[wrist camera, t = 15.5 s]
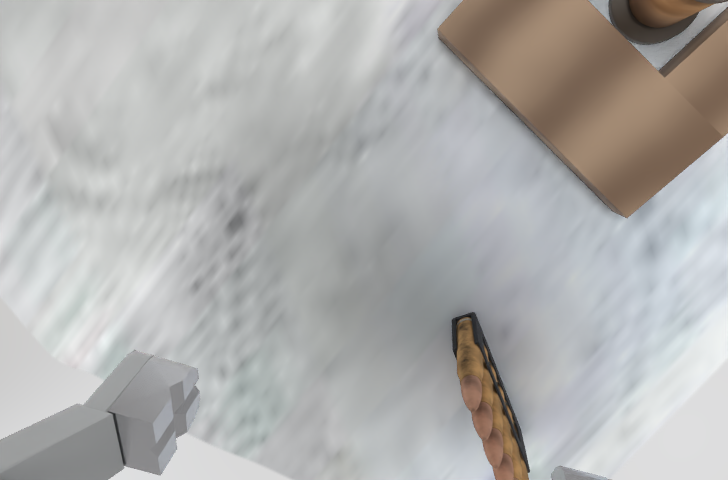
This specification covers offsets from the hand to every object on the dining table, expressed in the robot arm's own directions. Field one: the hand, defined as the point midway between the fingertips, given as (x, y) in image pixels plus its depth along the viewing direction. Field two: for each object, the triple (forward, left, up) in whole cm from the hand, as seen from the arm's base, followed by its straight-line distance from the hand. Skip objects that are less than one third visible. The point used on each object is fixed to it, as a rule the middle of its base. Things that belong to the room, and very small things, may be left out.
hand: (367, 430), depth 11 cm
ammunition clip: (+12, -5, -27) cm, 30 cm away
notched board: (0, +17, -27) cm, 31 cm away
